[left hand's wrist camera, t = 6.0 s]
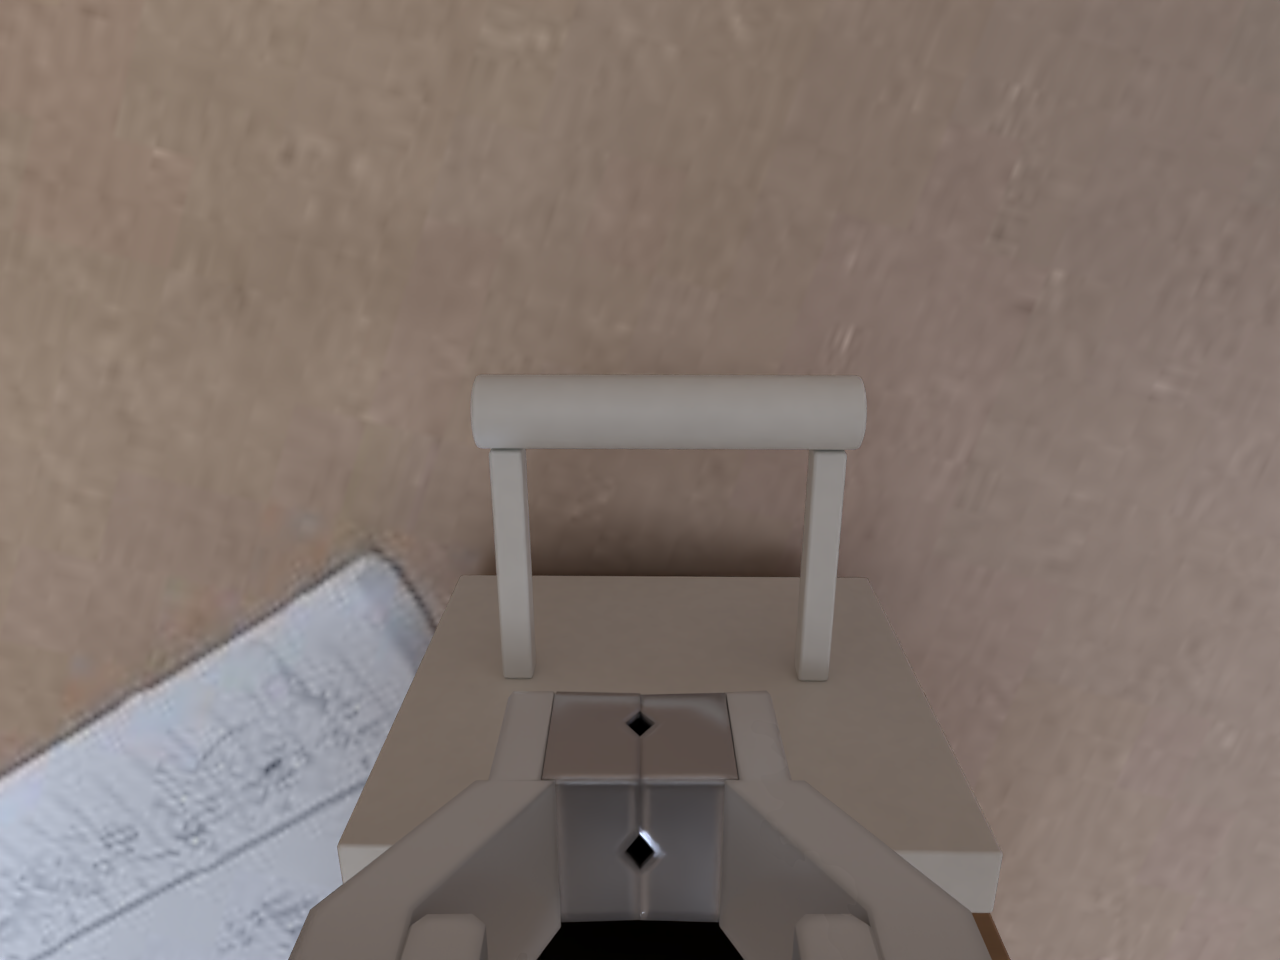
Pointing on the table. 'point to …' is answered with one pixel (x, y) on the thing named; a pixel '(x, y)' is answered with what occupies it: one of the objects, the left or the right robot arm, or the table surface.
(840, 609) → the drawer
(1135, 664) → the table surface
